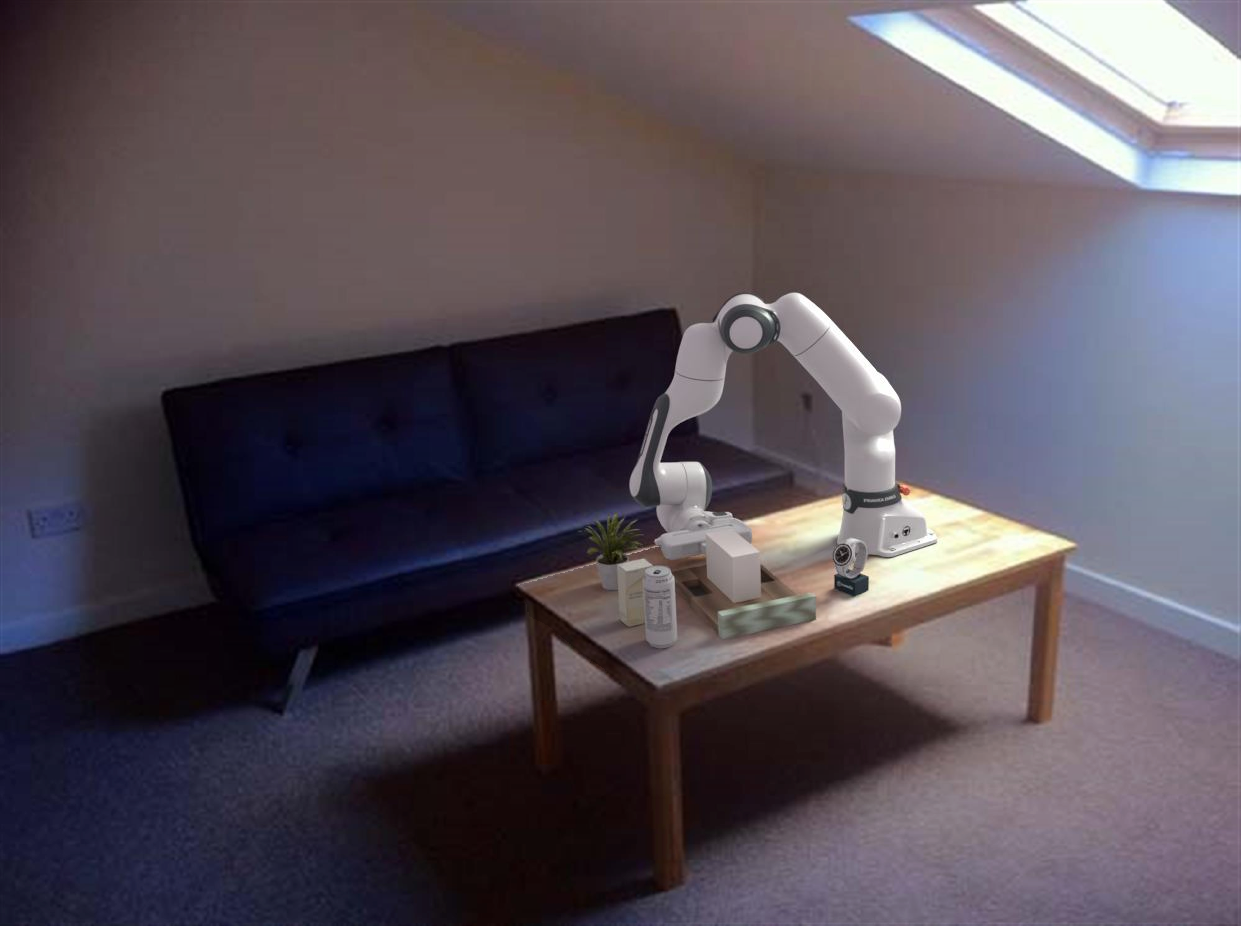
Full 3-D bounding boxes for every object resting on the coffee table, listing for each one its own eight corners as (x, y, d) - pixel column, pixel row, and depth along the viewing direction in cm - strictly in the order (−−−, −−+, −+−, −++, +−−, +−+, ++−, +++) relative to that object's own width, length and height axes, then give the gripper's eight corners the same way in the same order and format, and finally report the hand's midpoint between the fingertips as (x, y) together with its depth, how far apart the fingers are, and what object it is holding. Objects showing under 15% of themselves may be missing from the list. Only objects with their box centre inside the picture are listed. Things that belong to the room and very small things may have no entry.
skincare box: (628, 627, 221) (624, 571, 217) (619, 619, 225) (615, 563, 221) (656, 620, 223) (653, 564, 219) (647, 612, 227) (644, 557, 223)
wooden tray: (751, 564, 247) (750, 543, 245) (815, 619, 219) (815, 596, 218) (666, 580, 241) (665, 559, 239) (722, 639, 214) (721, 615, 212)
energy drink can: (681, 636, 216) (678, 565, 211) (671, 651, 210) (667, 578, 206) (652, 633, 218) (648, 562, 213) (641, 647, 213) (637, 575, 208)
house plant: (605, 608, 230) (600, 534, 225) (565, 588, 240) (559, 518, 235) (657, 586, 238) (653, 515, 233) (616, 568, 249) (612, 500, 244)
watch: (827, 591, 231) (827, 542, 228) (853, 579, 236) (853, 531, 232) (848, 599, 227) (849, 549, 223) (874, 587, 232) (875, 538, 228)
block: (733, 572, 238) (731, 528, 235) (761, 597, 226) (760, 551, 222) (707, 577, 237) (705, 533, 234) (733, 602, 224) (732, 557, 221)
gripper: (650, 526, 245) (673, 548, 232) (736, 510, 250) (762, 531, 238) (652, 552, 247) (674, 575, 234) (736, 536, 252) (763, 558, 240)
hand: (719, 553), depth 236 cm, fingers closed, pressing on block
